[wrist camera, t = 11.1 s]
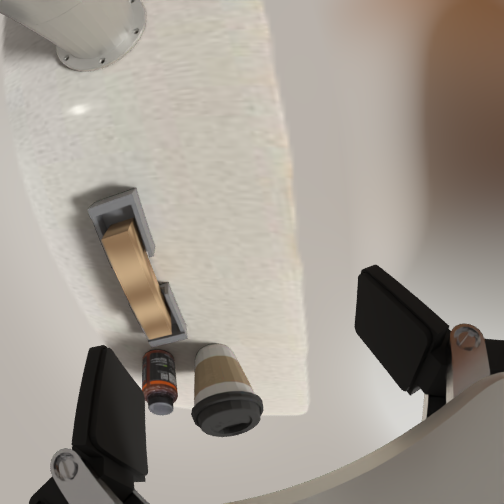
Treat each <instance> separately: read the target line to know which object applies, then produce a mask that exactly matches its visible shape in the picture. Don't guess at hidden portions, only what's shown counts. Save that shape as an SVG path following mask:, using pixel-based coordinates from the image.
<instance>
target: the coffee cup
mask: <svg viewBox="0 0 504 504" xmlns="http://www.w3.org/2000/svg"><path fill="white" fill-rule="evenodd" d="M262 413H263V403H262V400H261V398H260V397H259V396H258V395H256V394H255V393H254V391H253V389H252V387H251V385H250V383H249V381H248V379H247V377H246V375H245V373H244V371H243V369H242V368H241V366H240V364H239V362H238V360H237V358H236V356H235V354H234V352H233V351H232V350H231V349H230V348H229V347H228V346H226V345H223V344H211V345H207V346H205V347H203V348H202V349H200V350H199V351H198V353H197V355H196V359H195V384H194V407H193V408H192V413H191V415H192V417H193V420H194V422H195V424H196V425H197V426H199V427H200V428H201V429H202V431H203V432H205V433H206V434H208V435H212V436H218V437H227V436H234V435H239V434H242V433H244V432H247V431H249V430H250V429H252V428H254V427H255V426H256V425H257V424H258V423H259V421H260V416H261V414H262Z"/></svg>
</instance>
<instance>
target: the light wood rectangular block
mask: <svg viewBox="0 0 504 504" xmlns="http://www.w3.org/2000/svg"><path fill="white" fill-rule="evenodd" d="M101 240H102V243H103V245H104V248H105V250H106V253H107V255H108V257H109V260H110V262H111V264H112V267H113V269H114V271H115V273H116V276H117V278H118V280H119V282H120V284H121V286H122V288H123V291H124V293H125V295H126V297H127V299H128V301H129V303H130V305H131V307H132V309H133V311H134V313H135V314H136V316H137V318H138V320H139V322H140V324H141V326H142V328H143V329H144V331H145V333H146V335H147V337H148V338H149V340H150V339H154V338H159V337H163V336H167V335H171V334H172V330H171V312H170V310H169V307H168V305H167V303H166V300H165V298H164V296H163V293H162V291H161V289H160V286H159V284H158V281H157V279H156V276H155V274H154V271H153V269H152V266H151V264H150V261H149V259H148V256H147V253H146V251H145V248H144V245H143V243H142V240H141V237H140V234H139V231H138V228H137V225H136V223H135V220H134V218H131V219H127V220H124V221H121V222H118V223H115V224H112V225H110V226H109V228H108V230H107V231H106V233H105V234H104V236H103V238H102V239H101Z"/></svg>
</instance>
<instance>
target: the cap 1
mask: <svg viewBox="0 0 504 504" xmlns="http://www.w3.org/2000/svg"><path fill="white" fill-rule="evenodd" d="M87 210H88V213H89V216H90V219H91V218H92V221H93V223H94V226H95V229H96V231H97V234H98V236H99V239H100V242H101V244H102V247H103V249H104V251H105V254H106V256H107V259H108V261H109V263H110V265H111V268H113V267H112V264H111V262H110V260H109V257H108V255H107V253H106V250H105V248H104V245H103V243H102V240H101V239H102V238H103V236H104V234H105V233H106V231H107V230H108V228H109V226H110V225H112V224H115V223H118V222H121V221H124V220H127V219H131V218H134V220H135V223H136V225H137V228H138V231H139V234H140V237H141V240H142V243H143V245H144V248H145V251H147V252H148V254H149V257H152V256H154V252H155V244H154V241H153V239H152V236H151V233H150V230H149V227H148V224H147V221H146V218H145V214H144V211H143V208H142V205H141V202H140V198H139V195H138V192H137V188H134V189H131V190H128V191H125V192H122V193H120V194H117V195H114V196H111V197H108V198H105V199H103V200H100V201H97V202H95V203H94V204H93V205H92V206H90V207H89V208H88V209H87Z"/></svg>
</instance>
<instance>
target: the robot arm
mask: <svg viewBox="0 0 504 504" xmlns="http://www.w3.org/2000/svg"><path fill="white" fill-rule="evenodd" d="M132 2H133V3H132ZM0 13H1V14H3V15H5V16H8V17H9V18H12V19H13V20H15V21H17V22H19V23H20V24H22V25H24V26H25V27H27V28H29V29H31V30H32V31H34V32H36V33H37V34H39V35H41V36H42V37H44V38H46V39H47V40H49V41H51V42H52V43H54V44H55V45H56V53H57V55H58V57H59V59H60V61H61V62H62V63H63V64H64V65H66V66H67V67H69V68H71V69H73V70H77V71H94V70H99V69H101V68H104V67H107V66H109V65H111V64H113V63H115V62H116V61H118V60H119V59H121V58H122V57H124V56H125V55H126V54H127V53H128V52H129V51H131V49H132V48H133V47H134V46H135V45H136V44H137V42H138V41H139V39H140V38H141V36H142V34H143V31H144V29H145V25H146V11H145V8H144V5H143V3H142V2H141V1H140V0H0ZM136 32H138V33H137V34H135V33H136ZM68 58H69V59H68ZM67 59H68V60H67ZM103 61H105V62H104V63H103V64H102V62H103ZM448 328H449V325H447V324H446V323H445V322H444V321H443V320H442V319H441V318H440V317H439V316H438V315H436V314H435V313H434V312H433V311H432V310H431V309H429V307H427V306H426V305H425V304H424V303H423V302H422V301H420V300H419V299H418V298H417V297H416V296H415V295H413V294H412V293H411V292H410V291H409V290H407V289H406V288H405V287H404V286H403V285H401V284H400V283H399V282H398V281H396V280H395V279H394V278H393V277H392V276H390V275H389V274H388V273H386V272H385V271H384V270H383V269H382V268H380V267H379V266H377V265H373V266H370V267H367V268H365V269H363V270H362V271H361V274H360V275H359V276H358V290H357V304H356V316H355V330H356V333H357V334H358V336H360V338H361V339H362V340H363V342H364V343H365V344H366V345H367V347H368V348H369V349H370V350H371V352H372V353H373V354H374V355H375V357H376V358H377V359H378V360H379V362H380V363H381V364H382V365H383V367H384V368H385V369H386V370H387V371H388V373H389V374H390V376H391V377H392V378H393V379H394V381H395V382H396V383H397V384H398V386H399V387H400V388H401V389H402V390H403V391H407V392H408V393H409V395H411V394H413V393H415V392H416V391H418V390H419V389H422V391H423V392H424V405H423V416H422V422H421V423H420V424H418V425H416V426H415V427H413V428H412V429H410V430H409V431H407V432H406V433H404V434H403V435H401V436H399V437H398V438H396V439H394V440H393V441H391V442H389V443H388V444H386V445H384V446H383V447H381V448H379V449H377V450H375V451H374V452H372V453H370V454H368V455H366V456H364V457H362V458H360V459H358V460H356V461H354V462H352V463H350V464H348V465H346V466H344V467H341V468H339V469H337V470H334V471H332V472H330V473H327V474H325V475H323V476H320V477H318V478H315V479H312V480H310V481H307V482H304V483H301V484H298V485H295V486H292V487H290V488H286V489H283V490H280V491H276V492H273V493H270V494H266V495H262V496H258V497H254V498H250V499H245V500H240V501H235V502H230V503H225V504H504V340H492V339H484V337H483V334H482V333H481V332H480V330H479V329H478V328H476V327H475V326H473V325H470V324H459V325H457V326H455V327H454V328H453V329H452V331H450V330H449V329H448ZM50 469H51V474H52V477H51V478H50V479H49V480H48V481H47V482H46V483H45V484H44V485H43V486H42V487H41V488H40V489H39V490H38V491H37V492H36V493H35V494H34V495H33V496H32V497H31V499H30V501H29V504H149V503H148V502H147V501H146V500H145V499H144V498H143V497H142V496H141V495H140V494H139V493H138V492H137V491H136V490H135V489H134V482H145V475H147V474H148V465H147V452H146V433H145V397H144V393H143V391H142V390H141V388H140V387H139V386H138V385H137V383H136V382H135V381H134V380H133V378H132V377H131V376H130V374H129V373H128V372H127V370H126V369H125V368H124V366H123V365H122V363H121V362H120V361H119V359H118V358H117V356H116V355H115V354H114V352H113V351H112V349H110V348H107V347H106V346H105V345H101V346H97V347H92V348H90V349H89V352H88V356H87V360H86V364H85V368H84V373H83V377H82V382H81V387H80V392H79V397H78V403H77V409H76V415H75V421H74V429H73V437H72V450H71V449H67V448H65V449H61V450H59V451H57V452H56V453H55V454H54V456H53V458H52V460H51V464H50Z"/></svg>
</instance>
